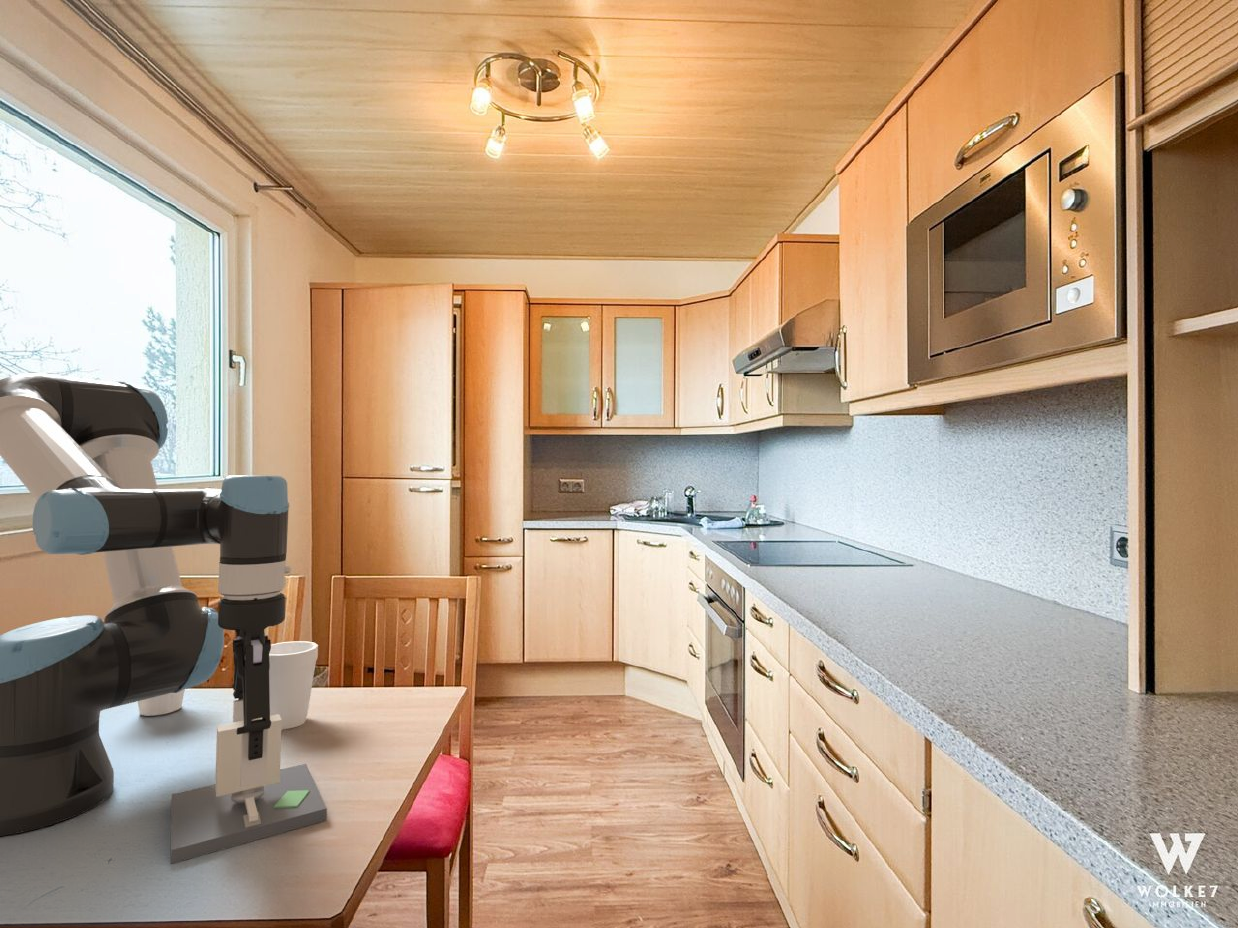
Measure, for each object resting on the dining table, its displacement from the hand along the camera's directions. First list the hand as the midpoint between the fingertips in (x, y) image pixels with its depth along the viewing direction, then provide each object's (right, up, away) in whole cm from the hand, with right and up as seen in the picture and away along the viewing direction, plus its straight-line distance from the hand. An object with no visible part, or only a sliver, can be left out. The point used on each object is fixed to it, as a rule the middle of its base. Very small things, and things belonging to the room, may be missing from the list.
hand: (248, 764), depth 81 cm
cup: (-36, -7, +34) cm, 50 cm away
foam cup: (-11, -7, +30) cm, 32 cm away
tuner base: (0, -6, 0) cm, 6 cm away
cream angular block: (+2, -5, -2) cm, 5 cm away
